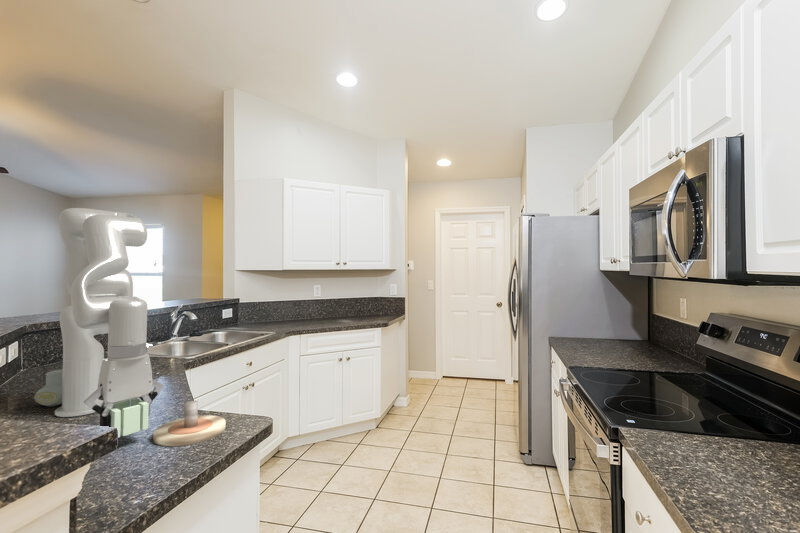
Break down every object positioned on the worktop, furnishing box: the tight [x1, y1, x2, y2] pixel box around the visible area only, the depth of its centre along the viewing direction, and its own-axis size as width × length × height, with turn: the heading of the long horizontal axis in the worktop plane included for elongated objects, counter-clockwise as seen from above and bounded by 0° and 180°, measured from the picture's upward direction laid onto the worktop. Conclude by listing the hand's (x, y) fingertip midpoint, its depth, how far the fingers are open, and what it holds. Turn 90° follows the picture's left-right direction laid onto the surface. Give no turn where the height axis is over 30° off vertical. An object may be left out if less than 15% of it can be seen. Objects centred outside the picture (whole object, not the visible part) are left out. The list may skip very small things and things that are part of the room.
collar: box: [109, 397, 150, 439], centre depth 91 cm, size 7×7×6 cm
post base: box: [152, 400, 227, 447], centre depth 97 cm, size 16×16×8 cm
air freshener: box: [34, 368, 63, 407], centre depth 121 cm, size 11×8×10 cm
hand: (125, 425), depth 91 cm, fingers closed on collar, 7 cm apart
